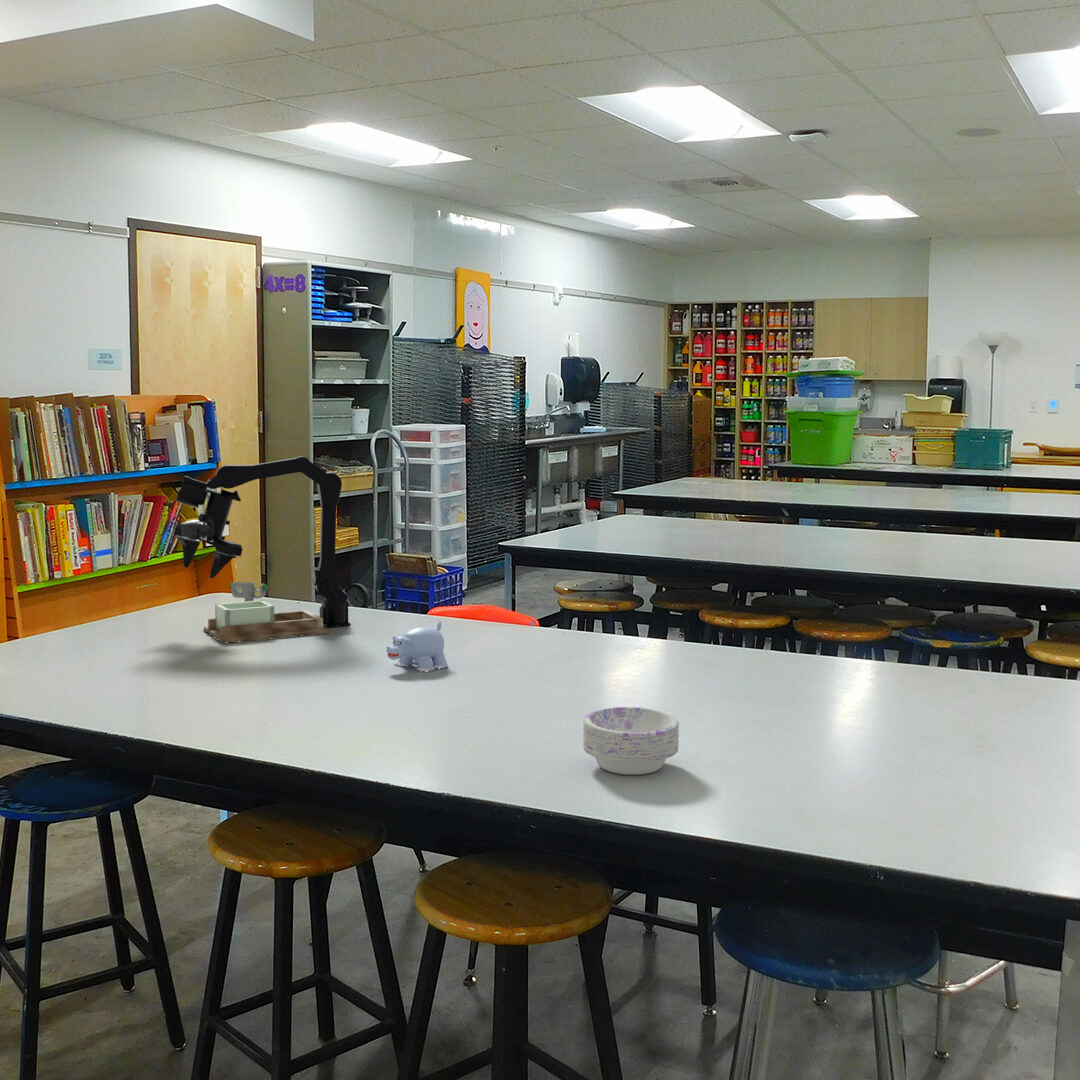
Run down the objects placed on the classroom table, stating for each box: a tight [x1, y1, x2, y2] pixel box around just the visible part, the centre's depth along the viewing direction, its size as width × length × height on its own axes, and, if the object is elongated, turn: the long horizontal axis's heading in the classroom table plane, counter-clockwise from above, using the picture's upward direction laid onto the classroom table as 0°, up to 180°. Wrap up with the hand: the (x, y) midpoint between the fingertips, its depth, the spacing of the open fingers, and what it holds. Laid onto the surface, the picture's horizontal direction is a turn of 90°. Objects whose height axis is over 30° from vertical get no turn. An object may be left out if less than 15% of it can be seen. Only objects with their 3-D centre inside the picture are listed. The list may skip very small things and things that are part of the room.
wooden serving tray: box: [203, 609, 331, 644], centre depth 289 cm, size 27×18×4 cm, turn 120°
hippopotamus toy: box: [386, 620, 449, 672], centre depth 251 cm, size 11×15×10 cm
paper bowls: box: [582, 706, 680, 776], centre depth 183 cm, size 15×15×8 cm
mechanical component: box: [229, 581, 269, 602], centre depth 304 cm, size 3×10×10 cm, turn 78°
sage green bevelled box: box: [214, 600, 275, 630], centre depth 286 cm, size 12×10×6 cm
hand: (198, 572), depth 288 cm, fingers open, 9 cm apart
